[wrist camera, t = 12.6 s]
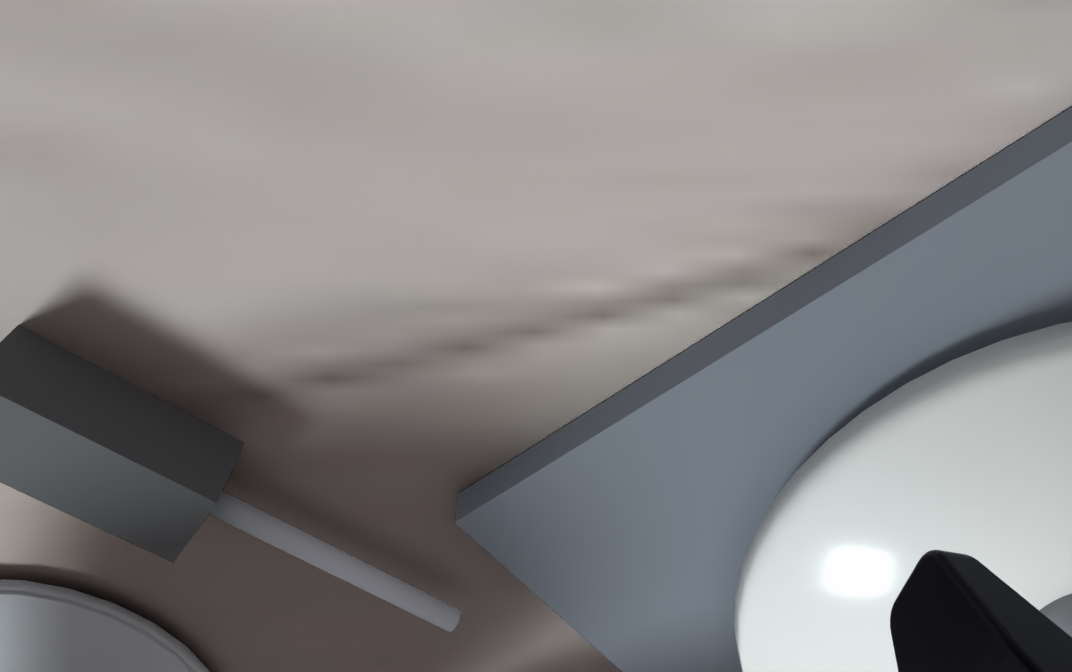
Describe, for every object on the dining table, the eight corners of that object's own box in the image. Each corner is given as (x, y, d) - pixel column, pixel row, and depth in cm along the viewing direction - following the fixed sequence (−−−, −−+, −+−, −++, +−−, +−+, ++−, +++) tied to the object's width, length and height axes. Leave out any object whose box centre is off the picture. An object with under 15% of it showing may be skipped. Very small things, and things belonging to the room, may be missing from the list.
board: (457, 493, 25) (453, 528, 24) (1361, -77, 18) (1423, -68, 16) (854, 854, 35) (865, 893, 34) (1548, 589, 27) (1596, 626, 26)
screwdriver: (-13, 389, 24) (-71, 449, 21) (21, 322, 23) (-36, 377, 20) (434, 611, 28) (426, 680, 26) (481, 563, 27) (476, 631, 25)
